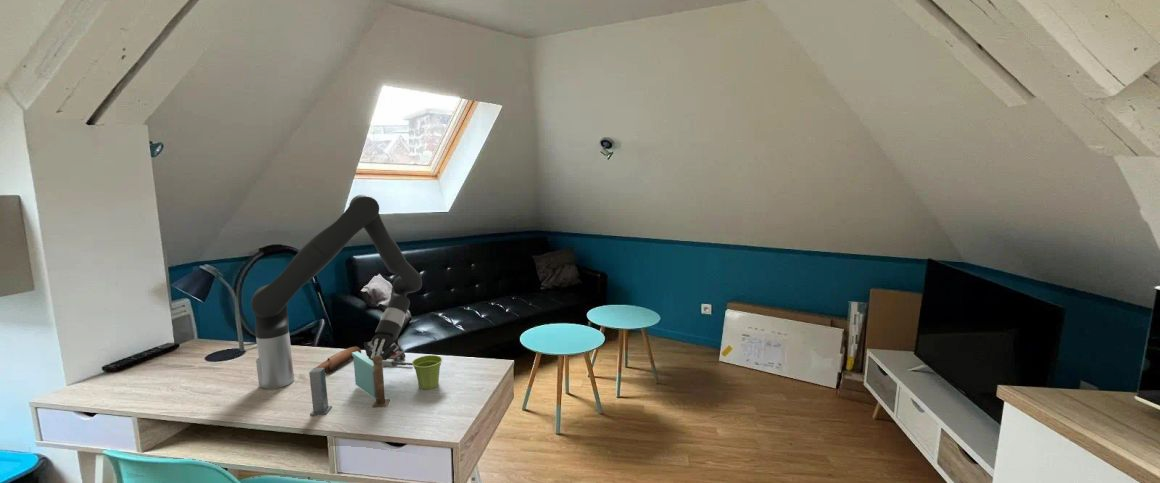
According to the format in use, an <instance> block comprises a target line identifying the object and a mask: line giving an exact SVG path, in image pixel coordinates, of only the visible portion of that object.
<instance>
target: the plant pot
mask: <svg viewBox="0 0 1160 483" xmlns="http://www.w3.org/2000/svg"><path fill="white" fill-rule="evenodd" d="M442 361H443V358H442V357H441V356H439V355H437V354H436V355H435V354H430V355H423V356H420V357H416V358H415V359H413V361H412V362H411V363H412V365H411V366H413V368H414V370H415V374H416V378H417V384H418V388H420V390H431V389H435V388H437V387H438V385H439V382H440V381H439V380H440V369H441V364H442Z"/></svg>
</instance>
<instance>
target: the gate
mask: <svg viewBox="0 0 1160 483" xmlns="http://www.w3.org/2000/svg"><path fill="white" fill-rule="evenodd" d="M352 356H353V359H352V361H353V368H354V379H355V380H354V382H355V386H357V387H358V388H359V389H361V390H362V391H363V392H365V393H366V394H368V395H369V396H370V397H372V398H373V399H374V400H375V401H376V400H377V399H376V387H375V375H374V363H373V361H372V360H371V359H369V357H368V356H367V355H364V354H363V353H362V352H361V353H360V352H358V351H356V352H353V353H352Z"/></svg>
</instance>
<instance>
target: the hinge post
mask: <svg viewBox="0 0 1160 483" xmlns="http://www.w3.org/2000/svg"><path fill="white" fill-rule="evenodd" d="M382 361H383V358H382V356H380V355H376V356H374V357H373V363H374V375H375V387H376V399H377V400H376V399H375V401H374V403H373V404H372V409H375V408H377V409H378V408H379V409H380V408H386V407H388V404H389V403H390V401H391V398H386V394H385V393H386V391H385V382H384V381H385V380H384V366H382Z"/></svg>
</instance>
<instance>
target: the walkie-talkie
mask: <svg viewBox="0 0 1160 483" xmlns="http://www.w3.org/2000/svg"><path fill="white" fill-rule="evenodd" d="M368 358H369V357H368ZM405 358H406V354H405V351H401V350H400V349H399V350H398V351H397V352H395V353H394V354H393V355H392V356H391V357H389V358H388V359H387V360H383V361H382V366H383V367H384V366H385V367H393V366H413V365H412V362H403V361H402V360H406V359H405ZM369 359H370V358H369Z"/></svg>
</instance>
